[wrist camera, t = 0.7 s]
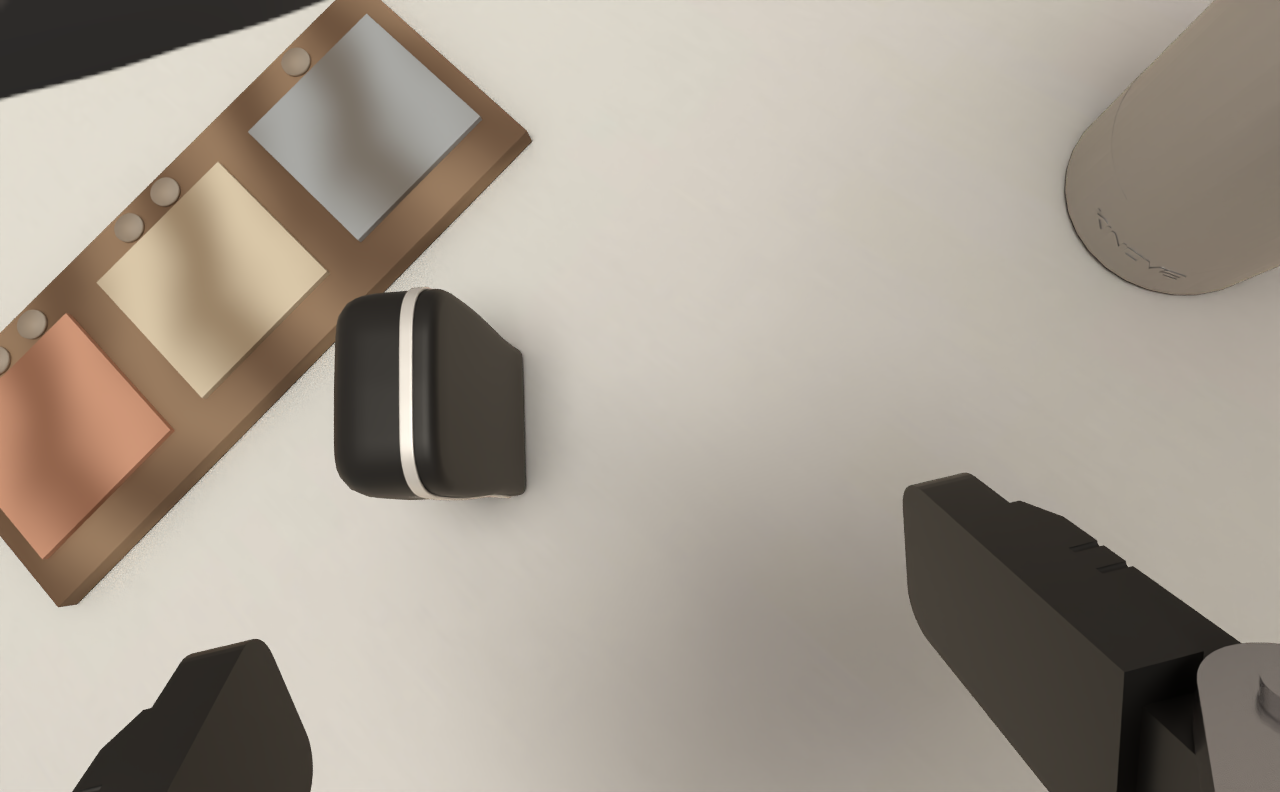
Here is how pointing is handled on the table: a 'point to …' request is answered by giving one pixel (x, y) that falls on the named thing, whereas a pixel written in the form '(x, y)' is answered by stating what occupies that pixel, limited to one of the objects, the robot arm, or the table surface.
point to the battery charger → (426, 400)
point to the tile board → (230, 283)
